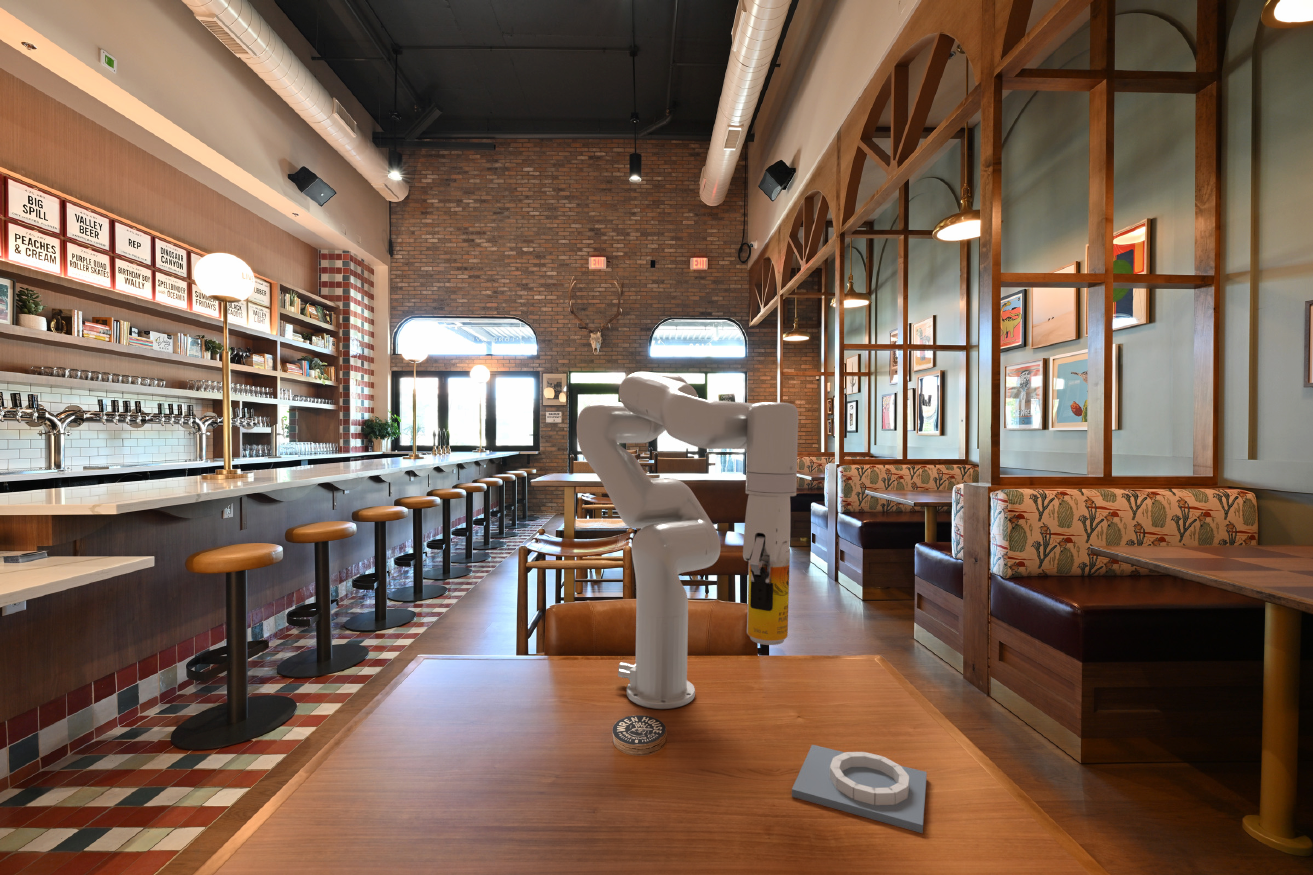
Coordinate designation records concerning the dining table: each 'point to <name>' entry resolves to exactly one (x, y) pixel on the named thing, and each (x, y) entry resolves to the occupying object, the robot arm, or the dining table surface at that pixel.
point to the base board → (863, 786)
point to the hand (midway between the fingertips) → (767, 602)
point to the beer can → (775, 622)
